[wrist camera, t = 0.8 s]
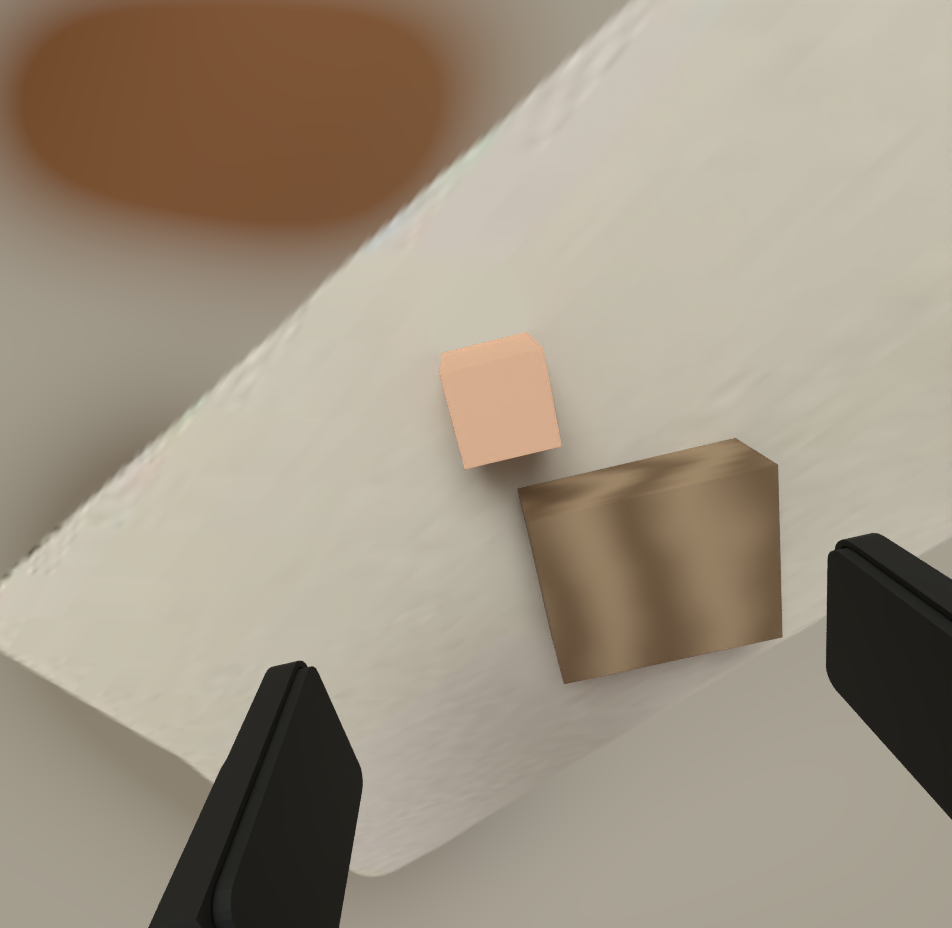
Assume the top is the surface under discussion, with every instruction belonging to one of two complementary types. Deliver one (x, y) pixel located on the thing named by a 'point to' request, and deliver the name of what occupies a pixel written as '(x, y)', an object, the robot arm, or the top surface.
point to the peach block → (500, 399)
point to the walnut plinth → (658, 558)
